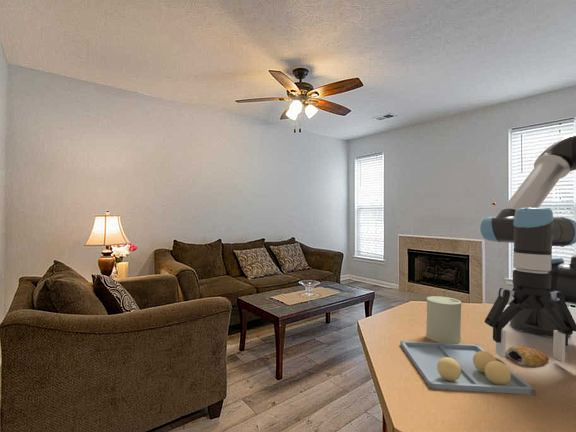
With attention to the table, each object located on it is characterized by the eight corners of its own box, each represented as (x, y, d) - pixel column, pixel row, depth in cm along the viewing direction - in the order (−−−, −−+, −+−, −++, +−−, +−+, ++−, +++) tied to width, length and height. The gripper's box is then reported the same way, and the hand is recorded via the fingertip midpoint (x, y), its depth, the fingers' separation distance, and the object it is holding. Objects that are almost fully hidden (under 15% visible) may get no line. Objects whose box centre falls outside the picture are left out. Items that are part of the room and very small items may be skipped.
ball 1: (489, 367, 73) (489, 348, 73) (501, 378, 69) (501, 356, 69) (468, 366, 74) (469, 347, 74) (479, 376, 69) (479, 355, 69)
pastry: (530, 355, 83) (531, 340, 83) (558, 367, 76) (558, 351, 76) (501, 358, 81) (501, 343, 81) (527, 371, 74) (527, 355, 74)
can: (465, 347, 86) (466, 303, 86) (429, 344, 88) (430, 301, 88) (455, 335, 95) (455, 295, 95) (422, 332, 97) (423, 293, 97)
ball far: (455, 375, 70) (455, 354, 70) (465, 386, 65) (465, 363, 65) (433, 373, 70) (433, 353, 70) (442, 384, 65) (442, 362, 65)
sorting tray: (477, 350, 84) (477, 344, 84) (534, 397, 62) (535, 389, 62) (400, 346, 86) (400, 341, 86) (430, 391, 64) (430, 383, 64)
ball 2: (502, 378, 68) (502, 357, 68) (515, 390, 64) (516, 367, 64) (480, 377, 69) (480, 356, 69) (492, 389, 64) (492, 366, 64)
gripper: (573, 270, 80) (571, 353, 80) (471, 266, 82) (468, 347, 82) (599, 275, 73) (597, 367, 73) (486, 270, 75) (484, 360, 75)
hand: (529, 357), depth 78 cm, fingers open, 13 cm apart
